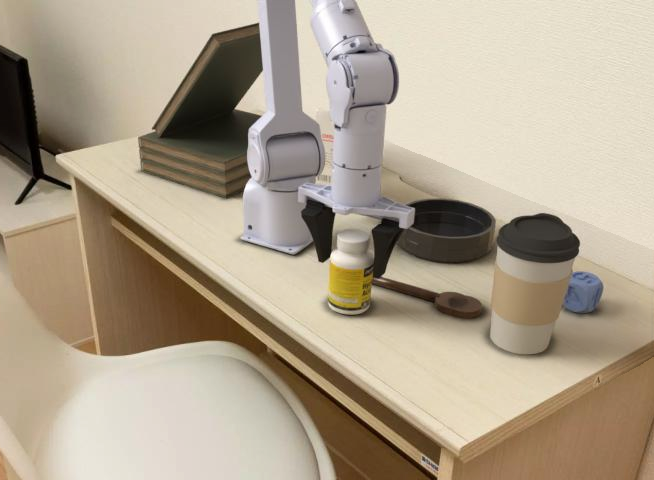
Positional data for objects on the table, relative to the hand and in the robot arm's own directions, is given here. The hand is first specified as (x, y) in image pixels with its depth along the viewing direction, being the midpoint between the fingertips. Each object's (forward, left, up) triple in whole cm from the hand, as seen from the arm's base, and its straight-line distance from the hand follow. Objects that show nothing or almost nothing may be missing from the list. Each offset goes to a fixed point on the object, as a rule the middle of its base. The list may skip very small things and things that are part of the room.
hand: (351, 267), depth 98 cm
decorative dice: (+25, +16, -6) cm, 30 cm away
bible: (-42, +32, -6) cm, 53 cm away
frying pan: (+3, +24, -6) cm, 25 cm away
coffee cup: (+21, +4, -6) cm, 22 cm away
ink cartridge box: (-18, +31, -6) cm, 36 cm away
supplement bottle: (0, 0, -6) cm, 6 cm away
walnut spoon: (+6, +7, -6) cm, 11 cm away
